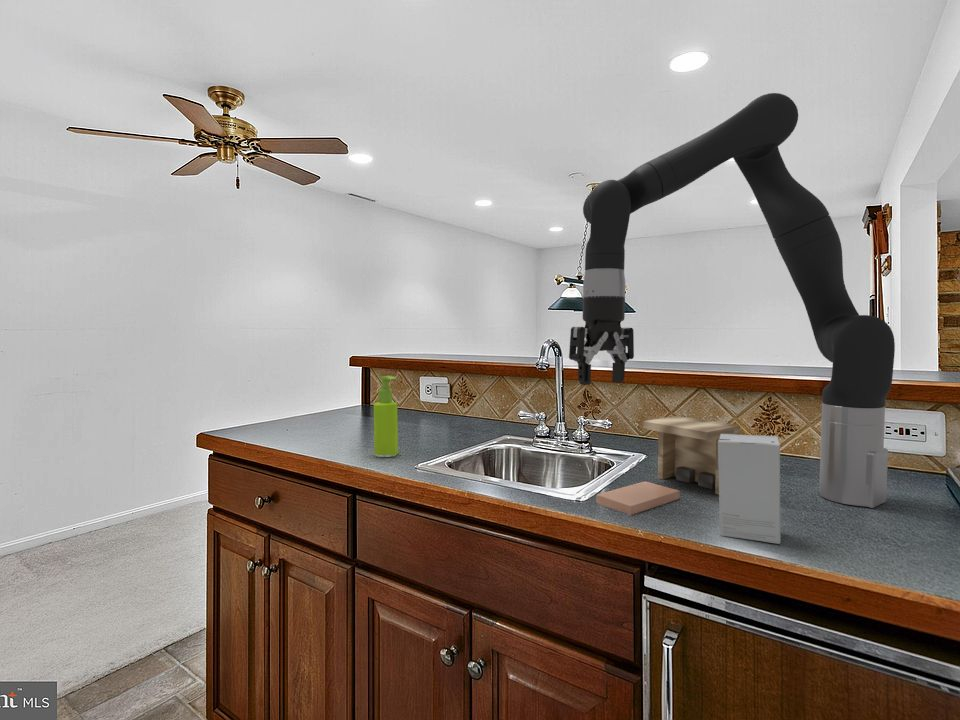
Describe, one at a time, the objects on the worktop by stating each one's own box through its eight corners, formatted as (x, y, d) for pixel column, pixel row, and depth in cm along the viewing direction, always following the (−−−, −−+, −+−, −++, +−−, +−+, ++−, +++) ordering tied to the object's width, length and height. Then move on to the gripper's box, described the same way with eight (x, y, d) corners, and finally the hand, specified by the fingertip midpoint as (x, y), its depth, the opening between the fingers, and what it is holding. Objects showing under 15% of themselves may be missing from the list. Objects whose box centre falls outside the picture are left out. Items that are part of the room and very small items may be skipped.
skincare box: (779, 532, 78) (781, 435, 77) (780, 547, 73) (783, 443, 72) (718, 522, 82) (720, 431, 81) (716, 536, 77) (717, 438, 76)
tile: (679, 501, 94) (679, 490, 94) (630, 517, 86) (630, 506, 86) (644, 491, 100) (645, 481, 100) (596, 505, 92) (596, 494, 92)
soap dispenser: (384, 460, 124) (382, 377, 123) (370, 454, 129) (368, 375, 128) (404, 455, 128) (403, 376, 127) (390, 451, 133) (388, 374, 132)
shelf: (738, 489, 99) (740, 425, 98) (705, 500, 93) (707, 432, 92) (675, 473, 111) (676, 415, 110) (642, 481, 104) (642, 421, 104)
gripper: (590, 292, 87) (588, 387, 88) (646, 296, 95) (643, 383, 96) (560, 294, 93) (559, 383, 94) (615, 298, 101) (613, 380, 102)
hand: (601, 383), depth 95 cm, fingers open, 8 cm apart
